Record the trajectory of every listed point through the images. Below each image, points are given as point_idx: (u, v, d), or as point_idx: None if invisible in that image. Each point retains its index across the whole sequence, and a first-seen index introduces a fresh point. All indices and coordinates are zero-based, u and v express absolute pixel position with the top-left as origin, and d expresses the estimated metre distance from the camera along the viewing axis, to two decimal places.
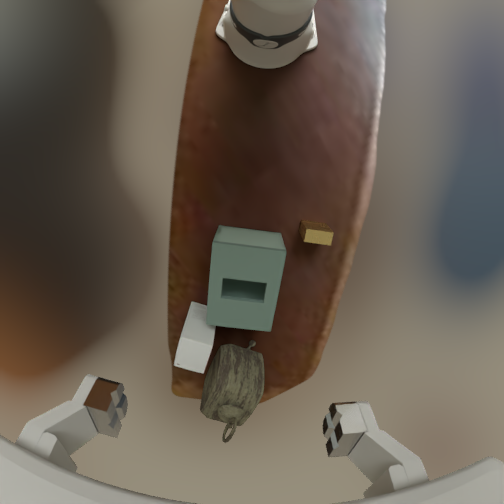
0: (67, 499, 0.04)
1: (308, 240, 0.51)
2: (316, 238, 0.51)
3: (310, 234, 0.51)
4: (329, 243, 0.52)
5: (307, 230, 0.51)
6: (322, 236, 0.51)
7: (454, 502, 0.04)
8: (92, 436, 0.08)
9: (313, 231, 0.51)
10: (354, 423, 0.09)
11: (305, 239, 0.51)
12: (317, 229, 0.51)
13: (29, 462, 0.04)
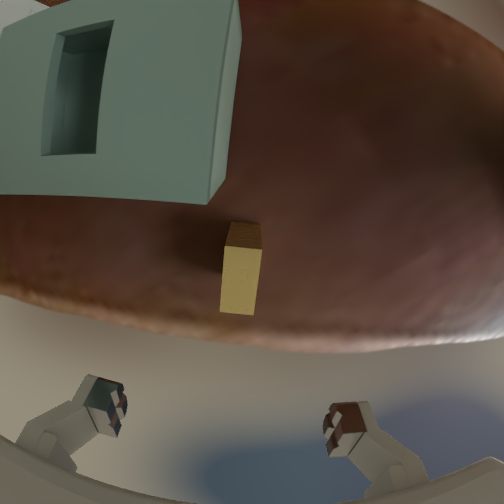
0: (67, 499, 0.04)
1: (229, 257, 0.19)
2: (237, 277, 0.20)
3: (246, 260, 0.19)
4: (224, 308, 0.21)
5: (257, 252, 0.19)
6: (242, 290, 0.20)
7: (453, 502, 0.04)
8: (92, 436, 0.08)
9: (255, 267, 0.19)
10: (354, 423, 0.09)
11: (231, 248, 0.19)
12: None
13: (29, 462, 0.04)
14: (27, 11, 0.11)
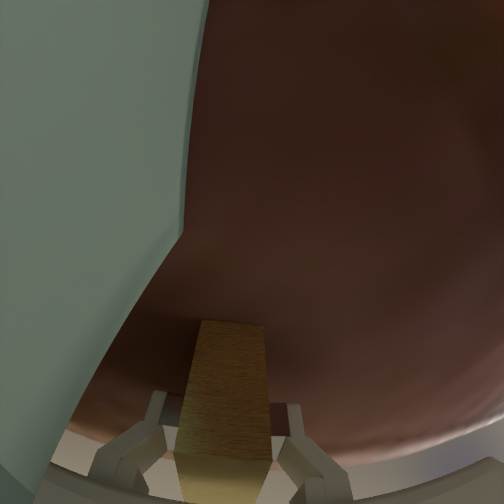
0: (67, 499, 0.04)
1: (188, 466, 0.06)
2: (213, 487, 0.06)
3: (232, 472, 0.06)
4: None
5: (260, 463, 0.06)
6: (226, 497, 0.07)
7: (454, 502, 0.04)
8: (162, 454, 0.08)
9: (253, 479, 0.06)
10: (277, 425, 0.08)
11: (191, 457, 0.06)
12: None
13: None
14: None
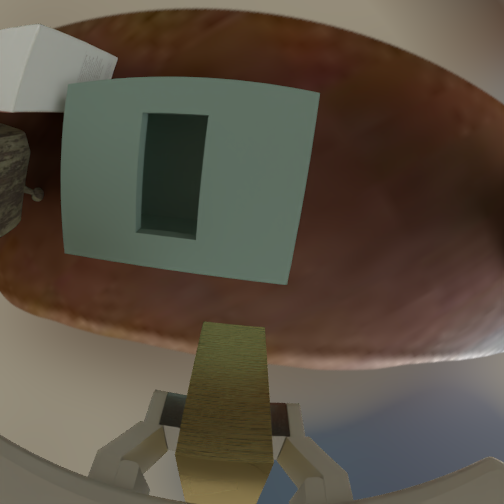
0: (67, 499, 0.04)
1: (190, 468, 0.06)
2: (214, 488, 0.06)
3: (233, 474, 0.06)
4: None
5: (261, 465, 0.06)
6: (227, 498, 0.07)
7: (453, 503, 0.04)
8: (162, 454, 0.08)
9: (254, 481, 0.06)
10: (276, 425, 0.08)
11: (193, 459, 0.06)
12: None
13: (29, 462, 0.04)
14: (83, 57, 0.16)
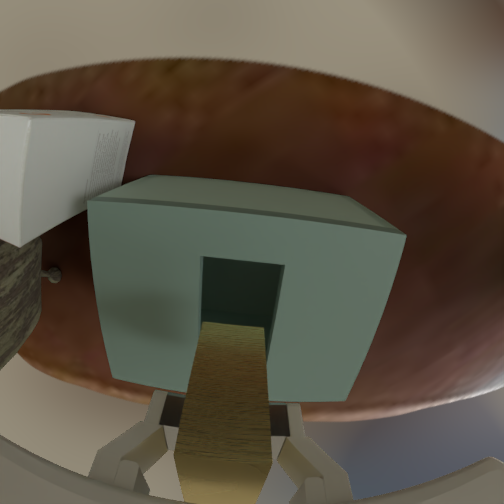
0: (67, 499, 0.04)
1: (188, 468, 0.06)
2: (213, 488, 0.06)
3: (232, 474, 0.06)
4: None
5: (259, 466, 0.06)
6: (226, 498, 0.07)
7: (453, 503, 0.04)
8: (162, 454, 0.08)
9: (253, 481, 0.06)
10: (277, 425, 0.08)
11: (191, 459, 0.06)
12: None
13: (29, 462, 0.04)
14: (95, 138, 0.15)
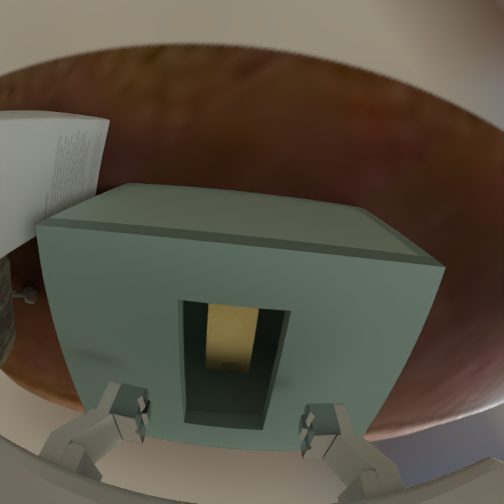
0: (67, 499, 0.04)
1: (215, 305, 0.14)
2: (226, 330, 0.14)
3: (239, 310, 0.14)
4: (211, 364, 0.15)
5: None
6: (233, 345, 0.15)
7: (454, 502, 0.04)
8: (116, 443, 0.08)
9: (250, 319, 0.14)
10: (327, 425, 0.09)
11: None
12: None
13: (29, 462, 0.04)
14: (54, 142, 0.11)
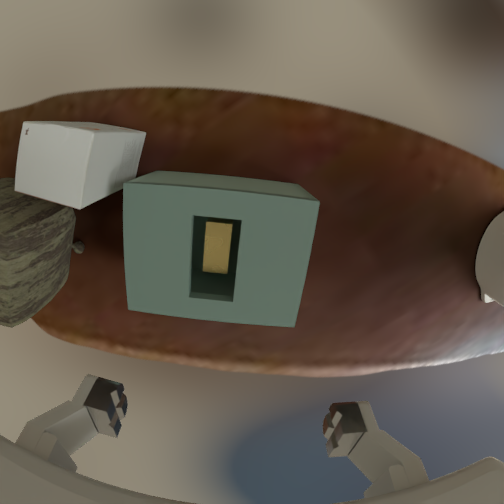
0: (67, 499, 0.04)
1: (209, 229, 0.27)
2: (215, 245, 0.27)
3: (221, 232, 0.27)
4: (206, 268, 0.28)
5: (229, 226, 0.27)
6: (218, 254, 0.28)
7: (454, 502, 0.04)
8: (92, 436, 0.08)
9: (227, 237, 0.27)
10: (354, 423, 0.09)
11: (210, 223, 0.27)
12: None
13: (29, 462, 0.04)
14: (123, 145, 0.24)
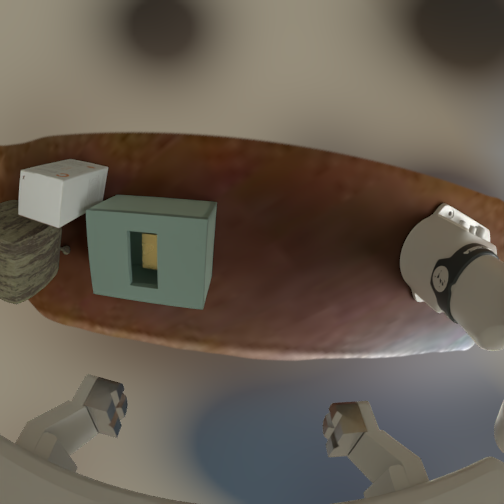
0: (67, 499, 0.04)
1: (144, 239, 0.37)
2: (148, 249, 0.38)
3: (152, 240, 0.37)
4: (144, 266, 0.39)
5: (156, 236, 0.37)
6: (151, 256, 0.38)
7: (453, 503, 0.04)
8: (92, 436, 0.08)
9: (156, 244, 0.38)
10: (354, 423, 0.09)
11: (145, 235, 0.37)
12: None
13: (29, 462, 0.04)
14: (88, 181, 0.35)
